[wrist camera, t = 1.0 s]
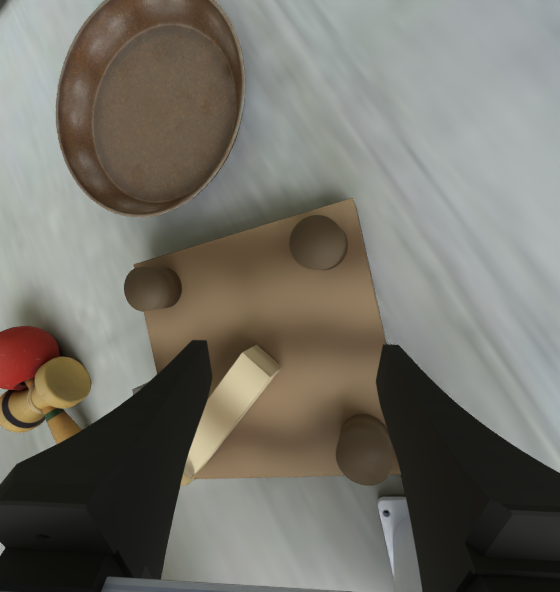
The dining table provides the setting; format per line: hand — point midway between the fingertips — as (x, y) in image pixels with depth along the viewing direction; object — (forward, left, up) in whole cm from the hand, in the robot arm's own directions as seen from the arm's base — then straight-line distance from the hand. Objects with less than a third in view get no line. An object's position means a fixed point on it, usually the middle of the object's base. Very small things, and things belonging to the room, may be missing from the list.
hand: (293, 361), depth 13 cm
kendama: (-3, +28, -11) cm, 30 cm away
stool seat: (-1, +6, -11) cm, 12 cm away
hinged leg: (-5, +9, -8) cm, 13 cm away
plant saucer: (+20, +11, -12) cm, 25 cm away
